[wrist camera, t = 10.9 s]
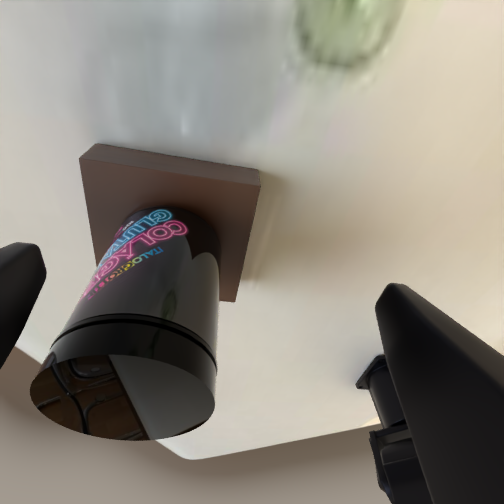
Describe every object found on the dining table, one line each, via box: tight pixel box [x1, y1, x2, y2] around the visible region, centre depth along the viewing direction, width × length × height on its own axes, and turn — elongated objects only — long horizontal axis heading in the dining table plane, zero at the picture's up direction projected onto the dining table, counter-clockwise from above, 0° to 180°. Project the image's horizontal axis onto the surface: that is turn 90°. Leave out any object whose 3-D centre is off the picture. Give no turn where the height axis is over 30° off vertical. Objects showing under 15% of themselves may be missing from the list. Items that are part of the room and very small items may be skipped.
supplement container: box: [30, 205, 222, 441], centre depth 16 cm, size 7×7×10 cm
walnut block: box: [79, 144, 261, 302], centre depth 21 cm, size 10×10×2 cm
